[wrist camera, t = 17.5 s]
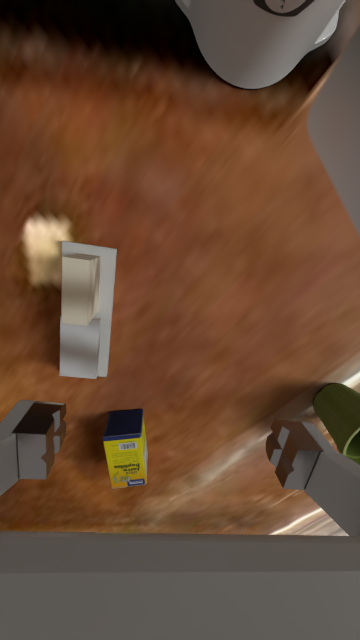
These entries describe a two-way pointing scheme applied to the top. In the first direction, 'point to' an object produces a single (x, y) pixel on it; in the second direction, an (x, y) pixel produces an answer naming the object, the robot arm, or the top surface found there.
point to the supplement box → (126, 448)
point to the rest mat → (100, 293)
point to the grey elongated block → (80, 316)
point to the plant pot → (341, 417)
